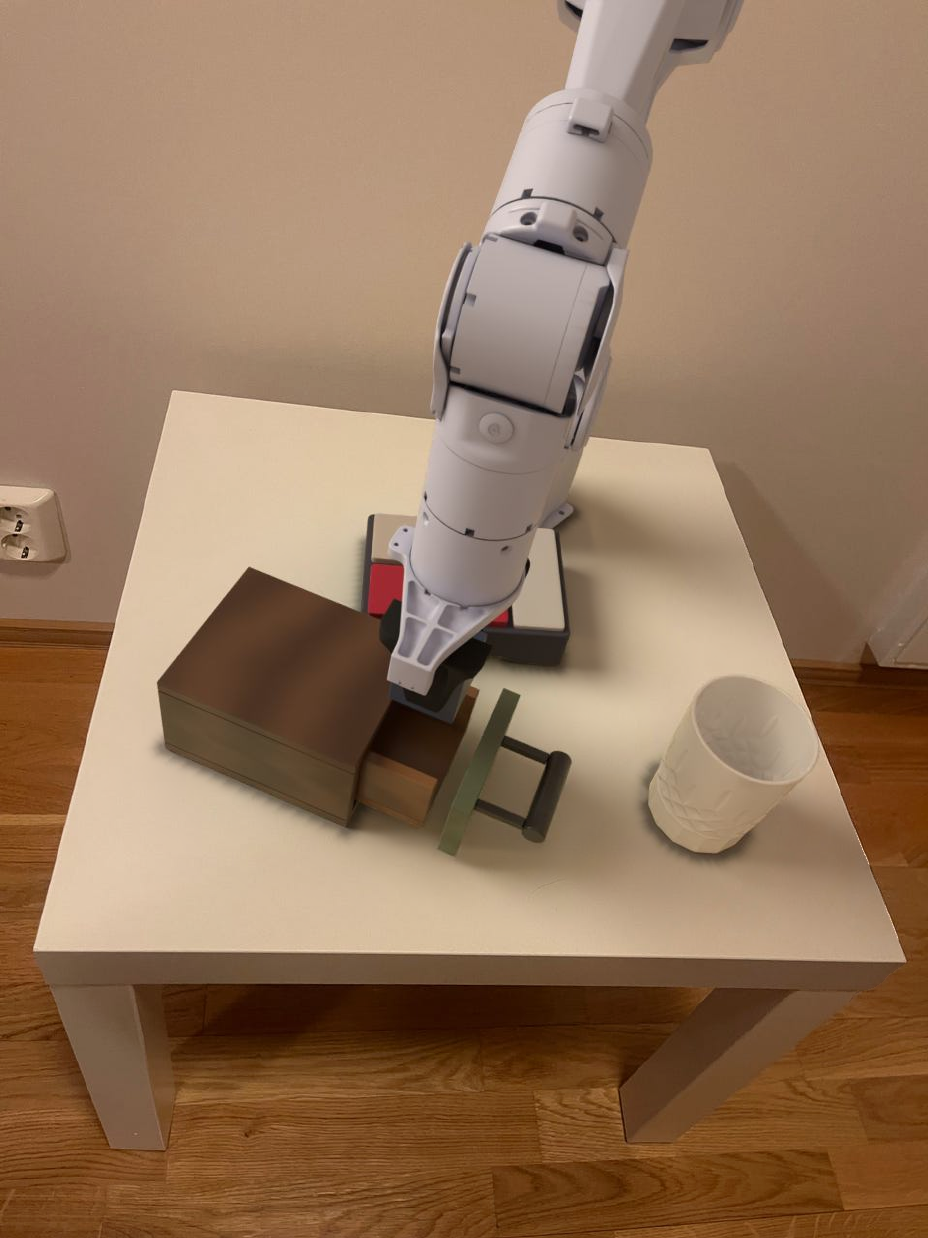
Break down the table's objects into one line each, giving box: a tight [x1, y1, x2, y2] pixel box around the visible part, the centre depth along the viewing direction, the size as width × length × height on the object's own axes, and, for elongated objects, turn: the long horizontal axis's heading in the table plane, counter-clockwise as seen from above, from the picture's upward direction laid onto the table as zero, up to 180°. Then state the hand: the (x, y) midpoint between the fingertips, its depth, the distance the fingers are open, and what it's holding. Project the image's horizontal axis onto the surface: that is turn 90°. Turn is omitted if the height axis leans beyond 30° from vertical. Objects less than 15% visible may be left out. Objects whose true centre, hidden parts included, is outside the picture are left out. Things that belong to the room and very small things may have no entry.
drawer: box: [354, 685, 573, 858], centre depth 57 cm, size 16×9×5 cm, turn 69°
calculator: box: [360, 513, 571, 666], centre depth 68 cm, size 11×4×15 cm
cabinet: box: [156, 566, 395, 828], centre depth 58 cm, size 13×11×7 cm
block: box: [389, 631, 487, 724], centre depth 52 cm, size 4×4×4 cm
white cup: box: [647, 673, 820, 854], centre depth 58 cm, size 8×8×10 cm
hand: (438, 673), depth 53 cm, fingers closed on block, 4 cm apart
